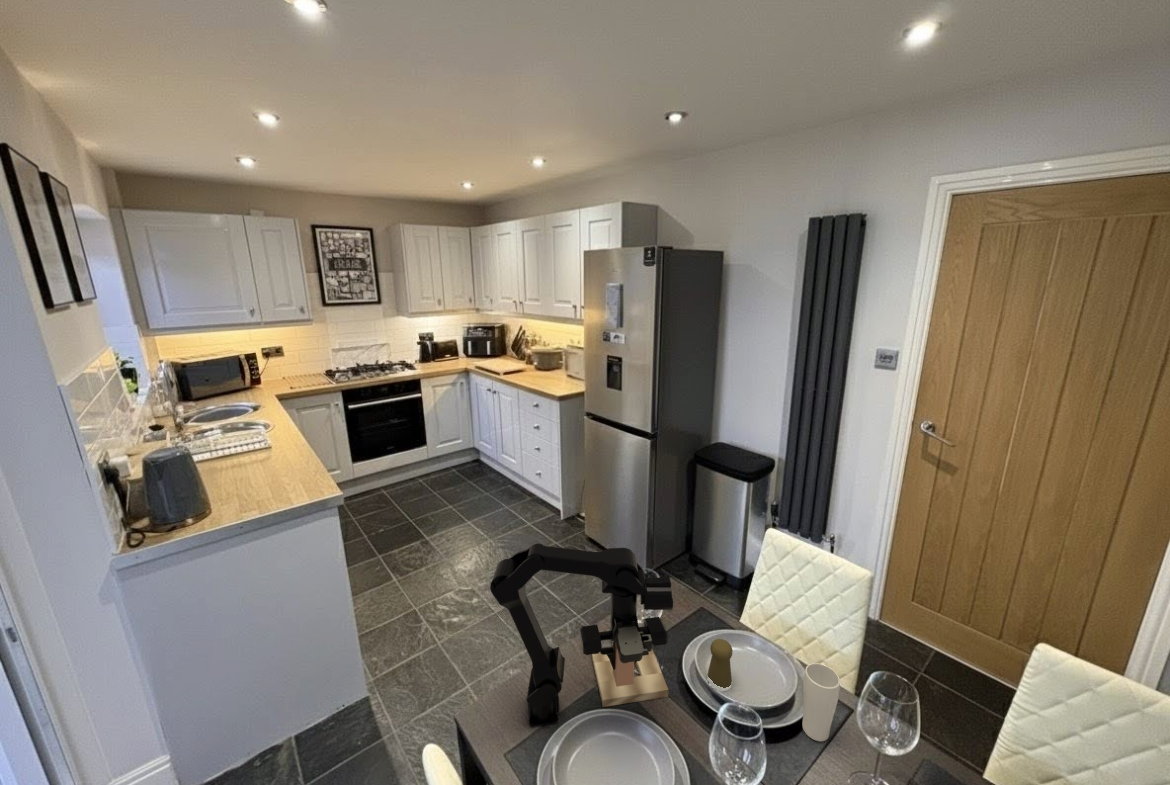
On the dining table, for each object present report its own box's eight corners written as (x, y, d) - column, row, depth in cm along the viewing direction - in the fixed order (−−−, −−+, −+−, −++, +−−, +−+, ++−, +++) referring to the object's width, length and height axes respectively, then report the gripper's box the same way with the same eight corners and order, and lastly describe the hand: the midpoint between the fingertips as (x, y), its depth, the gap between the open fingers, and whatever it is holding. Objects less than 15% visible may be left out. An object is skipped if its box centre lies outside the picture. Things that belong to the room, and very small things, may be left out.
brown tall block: (616, 686, 102) (616, 648, 99) (612, 672, 106) (612, 635, 103) (633, 684, 102) (634, 646, 100) (629, 669, 106) (629, 632, 104)
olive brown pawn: (733, 693, 111) (736, 655, 109) (707, 689, 112) (709, 651, 110) (730, 673, 117) (733, 636, 114) (706, 669, 118) (708, 633, 116)
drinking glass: (831, 752, 97) (839, 694, 94) (796, 736, 101) (802, 679, 97) (833, 726, 103) (841, 670, 99) (800, 712, 106) (807, 657, 103)
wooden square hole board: (602, 707, 108) (602, 700, 108) (590, 654, 123) (590, 648, 123) (668, 696, 111) (668, 689, 110) (648, 646, 126) (648, 639, 125)
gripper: (586, 640, 91) (587, 704, 94) (677, 628, 93) (675, 691, 97) (578, 602, 101) (580, 661, 105) (660, 592, 104) (658, 650, 108)
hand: (623, 666), depth 103 cm, fingers closed on brown tall block, 4 cm apart
